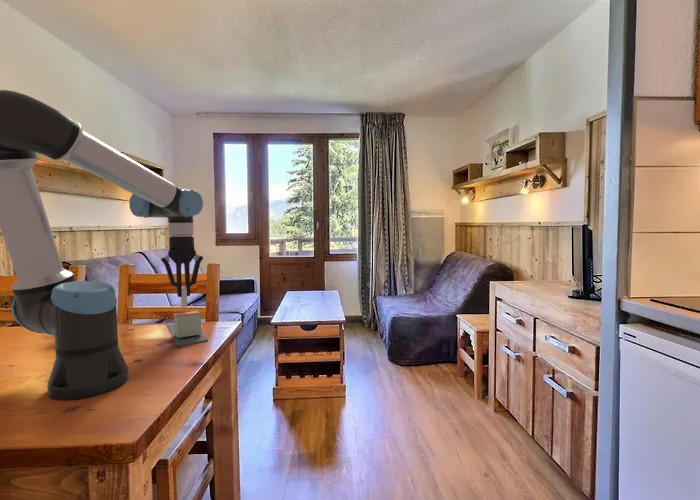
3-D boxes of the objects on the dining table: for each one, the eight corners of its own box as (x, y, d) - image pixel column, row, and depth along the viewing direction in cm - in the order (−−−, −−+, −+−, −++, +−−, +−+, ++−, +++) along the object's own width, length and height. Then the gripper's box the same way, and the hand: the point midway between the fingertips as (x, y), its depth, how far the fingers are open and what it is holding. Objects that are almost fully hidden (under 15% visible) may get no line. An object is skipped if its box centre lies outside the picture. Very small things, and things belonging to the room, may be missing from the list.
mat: (208, 341, 115) (208, 339, 115) (176, 346, 110) (176, 345, 110) (192, 322, 138) (192, 320, 138) (165, 325, 133) (165, 324, 133)
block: (196, 310, 124) (197, 331, 124) (173, 313, 120) (175, 335, 120) (200, 312, 118) (201, 333, 118) (176, 315, 115) (178, 337, 114)
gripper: (200, 235, 128) (202, 302, 129) (158, 236, 120) (161, 306, 122) (204, 235, 121) (207, 305, 123) (160, 236, 114) (163, 310, 116)
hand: (184, 306), depth 122 cm, fingers closed
